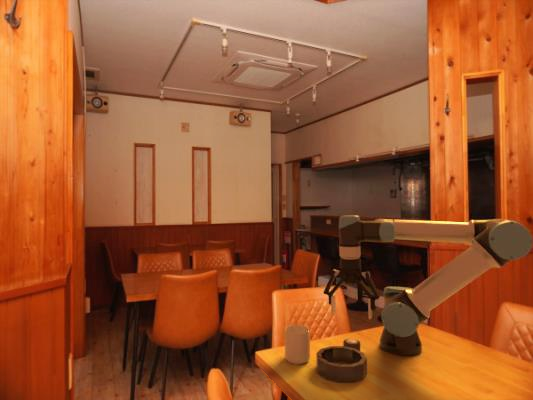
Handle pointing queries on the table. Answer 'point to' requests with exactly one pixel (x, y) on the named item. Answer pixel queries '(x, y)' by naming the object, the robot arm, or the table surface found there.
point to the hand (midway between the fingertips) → (351, 315)
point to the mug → (297, 344)
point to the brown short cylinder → (352, 343)
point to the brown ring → (341, 372)
